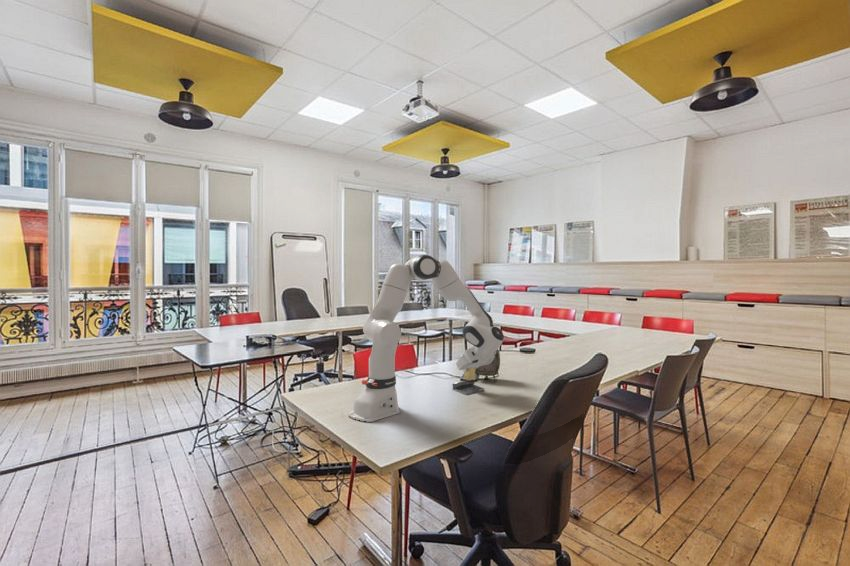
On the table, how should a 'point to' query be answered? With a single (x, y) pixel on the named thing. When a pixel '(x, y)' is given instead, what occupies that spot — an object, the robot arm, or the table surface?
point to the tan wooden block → (470, 374)
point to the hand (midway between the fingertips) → (468, 369)
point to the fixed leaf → (466, 387)
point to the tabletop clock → (490, 367)
